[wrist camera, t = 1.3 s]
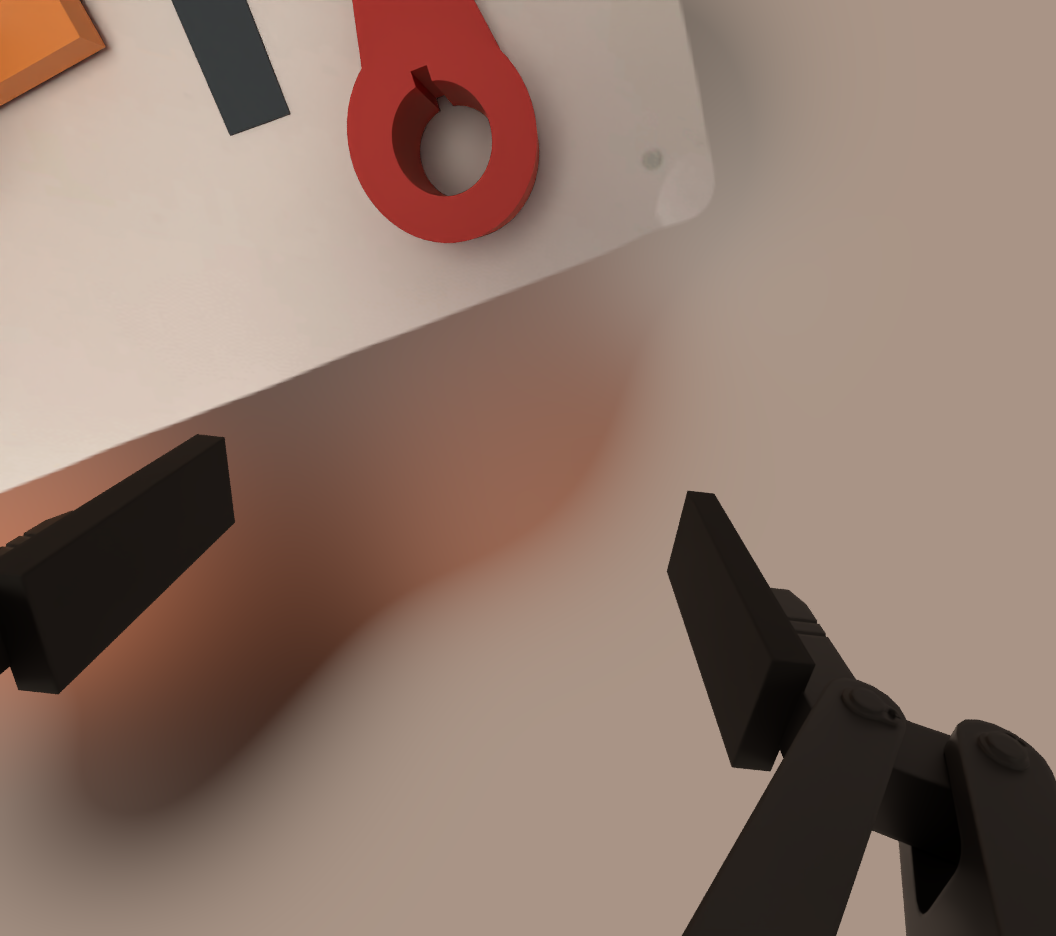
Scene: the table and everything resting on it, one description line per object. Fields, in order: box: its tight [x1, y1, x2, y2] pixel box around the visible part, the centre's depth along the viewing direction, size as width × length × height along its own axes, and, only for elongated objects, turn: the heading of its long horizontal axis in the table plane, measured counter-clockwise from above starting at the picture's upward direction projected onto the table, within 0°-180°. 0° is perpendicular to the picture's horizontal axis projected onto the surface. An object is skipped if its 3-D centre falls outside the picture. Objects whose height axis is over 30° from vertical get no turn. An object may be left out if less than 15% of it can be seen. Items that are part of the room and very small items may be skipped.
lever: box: [347, 0, 539, 243], centre depth 29 cm, size 18×9×7 cm, turn 17°
